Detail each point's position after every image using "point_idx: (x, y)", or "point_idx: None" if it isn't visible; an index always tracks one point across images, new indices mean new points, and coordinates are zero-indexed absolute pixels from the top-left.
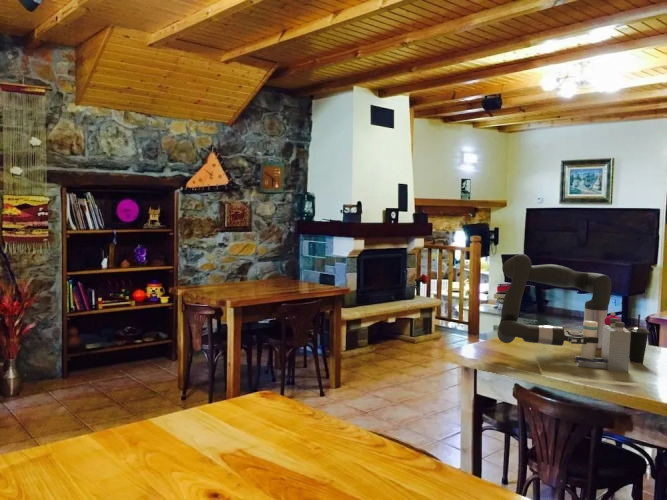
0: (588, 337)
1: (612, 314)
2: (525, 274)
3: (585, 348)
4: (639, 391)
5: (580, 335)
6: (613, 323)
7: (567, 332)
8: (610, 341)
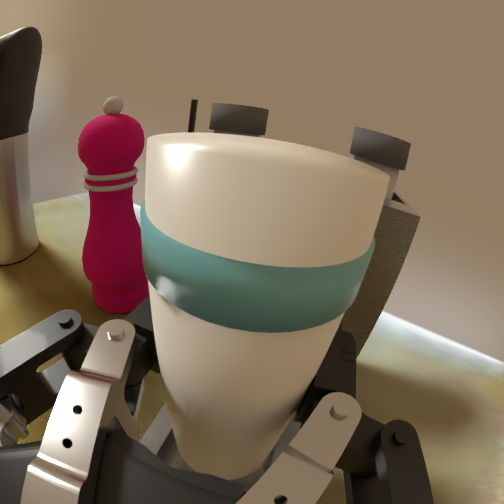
0: (337, 392)
1: (116, 107)
2: None
3: (263, 454)
4: (486, 387)
5: (330, 480)
6: (253, 136)
7: (5, 482)
8: (390, 288)
